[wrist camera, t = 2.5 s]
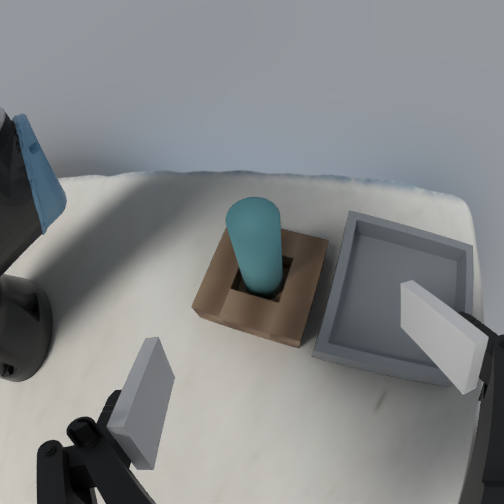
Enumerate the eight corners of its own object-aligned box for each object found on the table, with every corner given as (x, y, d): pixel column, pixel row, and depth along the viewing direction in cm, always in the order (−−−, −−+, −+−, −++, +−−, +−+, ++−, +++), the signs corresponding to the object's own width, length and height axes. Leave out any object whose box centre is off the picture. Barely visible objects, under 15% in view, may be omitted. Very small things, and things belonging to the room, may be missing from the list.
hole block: (200, 317, 33) (191, 306, 30) (235, 233, 38) (231, 217, 35) (298, 348, 31) (300, 341, 28) (325, 256, 35) (328, 240, 32)
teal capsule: (240, 294, 33) (217, 234, 23) (252, 262, 35) (236, 192, 24) (276, 305, 32) (270, 247, 22) (287, 271, 34) (286, 203, 23)
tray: (311, 356, 30) (314, 350, 27) (345, 227, 37) (349, 210, 34) (448, 386, 26) (463, 382, 23) (460, 259, 33) (472, 245, 30)
